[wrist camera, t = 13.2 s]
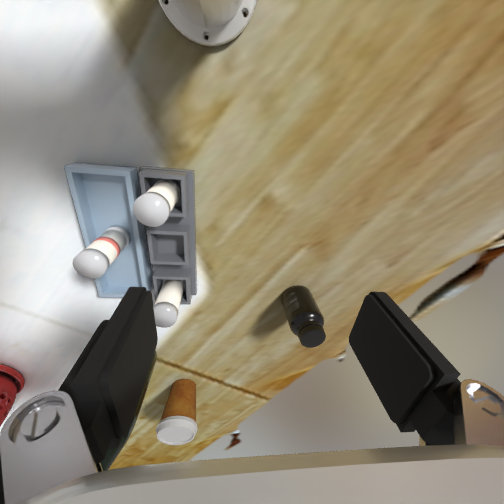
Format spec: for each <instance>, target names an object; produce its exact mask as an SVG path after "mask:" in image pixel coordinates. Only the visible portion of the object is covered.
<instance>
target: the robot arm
mask: <svg viewBox="0 0 504 504" xmlns="http://www.w3.org/2000/svg"><path fill="white" fill-rule="evenodd" d="M158 1H159V3H160V5H161V7H162V9H163V11H164V13H165V14H166V16H167V17H168V19H169V20H170V22H171V23H172V24H173V26H174V27H175V28H176V29H177V30H178V31H179V32H180V33H181V34H182V35H184V36H185V37H186V38H188V39H189V40H191V41H193V42H195V43H197V44H200V45H205V46H220V45H223V44H226V43H228V42H230V41H232V40H233V39H235V38H236V37H237V36H238V35H239V34H240V33H241V32H242V31H243V30H244V29H245V27H246V26H247V24H248V23H249V21H250V19H251V17H252V15H253V13H254V9H255V6H256V3H257V0H167V1H169V3H168V4H167V5H166V4H165V1H166V0H158ZM243 13H246V14H247V16H246V17H244V16H243ZM205 36H208V37H209V38H208V40H205ZM349 343H350V345H351V347H352V349H353V351H354V353H355V355H356V356H357V358H358V360H359V362H360V364H361V366H362V367H363V369H364V371H365V373H366V375H367V377H368V378H369V380H370V382H371V384H372V386H373V388H374V389H375V391H376V393H377V395H378V396H379V399H380V400H381V402H382V404H383V406H384V408H385V409H386V411H387V413H388V415H389V417H390V419H391V420H392V421H393V422H394V423H396V424H397V426H398V428H399V430H400V432H414V431H415V430H417V432H418V433H419V435H420V441H419V446H412V447H396V448H378V449H361V450H346V451H330V452H314V453H299V454H283V455H269V456H254V457H240V458H226V459H212V460H198V461H185V462H173V463H162V464H151V465H140V466H132V467H125V468H118V469H111V470H106V471H103V469H102V466H101V464H100V462H101V461H102V460H103V459H104V458H105V455H106V453H107V450H108V449H114V448H118V447H119V444H120V441H121V438H122V437H126V436H127V435H128V433H129V430H130V427H131V424H132V420H133V417H134V414H135V411H136V408H137V405H138V402H139V399H140V396H141V392H142V389H143V386H144V383H145V380H146V377H147V374H148V371H149V367H150V364H151V361H152V358H153V355H154V352H155V349H156V345H157V331H156V323H155V316H154V309H153V301H152V294H151V291H147V289H146V287H129V288H128V290H127V292H126V293H125V295H124V297H123V298H122V300H121V302H120V303H119V305H118V307H117V308H116V310H115V312H114V313H113V315H112V317H111V318H110V320H104V321H103V322H102V323H101V324H100V325H99V327H98V328H97V330H96V331H95V333H94V335H93V336H92V338H91V339H90V341H89V343H88V344H87V346H86V347H85V349H84V350H83V352H82V354H81V355H80V357H79V358H78V360H77V362H76V363H75V365H74V366H73V368H72V369H71V371H70V373H69V374H68V376H67V377H66V379H65V380H64V382H63V384H62V385H61V387H60V388H59V390H58V391H50V392H46V393H43V394H40V395H38V396H35V397H33V398H32V399H30V400H29V401H27V402H25V403H24V404H22V405H21V406H20V407H19V408H18V409H17V410H15V411H14V412H13V413H12V415H11V416H10V417H9V418H8V419H7V421H6V422H5V424H4V426H3V428H2V430H1V432H0V504H504V397H503V396H502V395H501V394H500V393H499V392H497V391H496V390H495V389H493V388H491V387H490V386H488V385H486V384H484V383H482V382H479V381H476V380H472V379H467V380H464V381H462V382H460V381H459V380H458V379H457V378H458V376H459V375H460V373H459V372H458V371H457V370H456V369H455V368H454V366H453V365H452V364H451V363H450V362H449V361H448V360H447V359H446V358H445V357H444V356H443V354H442V353H441V352H440V351H439V350H438V349H437V348H436V347H435V346H434V345H433V344H432V343H431V341H430V340H429V339H428V338H427V337H426V336H425V335H424V334H423V333H422V332H421V330H420V329H419V328H418V327H417V326H416V325H415V324H414V323H413V322H412V321H411V320H410V318H409V317H408V316H407V315H406V314H405V313H404V312H403V311H402V310H401V309H400V308H399V306H398V305H397V304H396V303H395V302H394V301H393V300H392V299H391V298H390V297H389V296H388V294H386V293H385V292H370V293H369V295H367V296H366V297H365V299H364V301H363V304H362V306H361V309H360V311H359V314H358V316H357V318H356V321H355V323H354V326H353V328H352V331H351V333H350V336H349Z"/></svg>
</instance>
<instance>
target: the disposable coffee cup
mask: <svg viewBox="0 0 504 504" xmlns="http://www.w3.org/2000/svg"><path fill="white" fill-rule="evenodd" d="M156 432H157V438H158V440H159V441H160V442H162V443H165V444H169V445H181V444H185V443H188V442H190V441H191V440H193V438H194V437H195V433H196V432H197V424H196V384H195V383H194V382H193V381H191V380H188V379H180V380H177V381H175V382H174V383H173V386H172V389H171V392H170V394H169V397H168V400H167V403H166V406H165V409H164V412H163V415H162V418H161V421H160V422H159V424H158V426H157V428H156Z"/></svg>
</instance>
